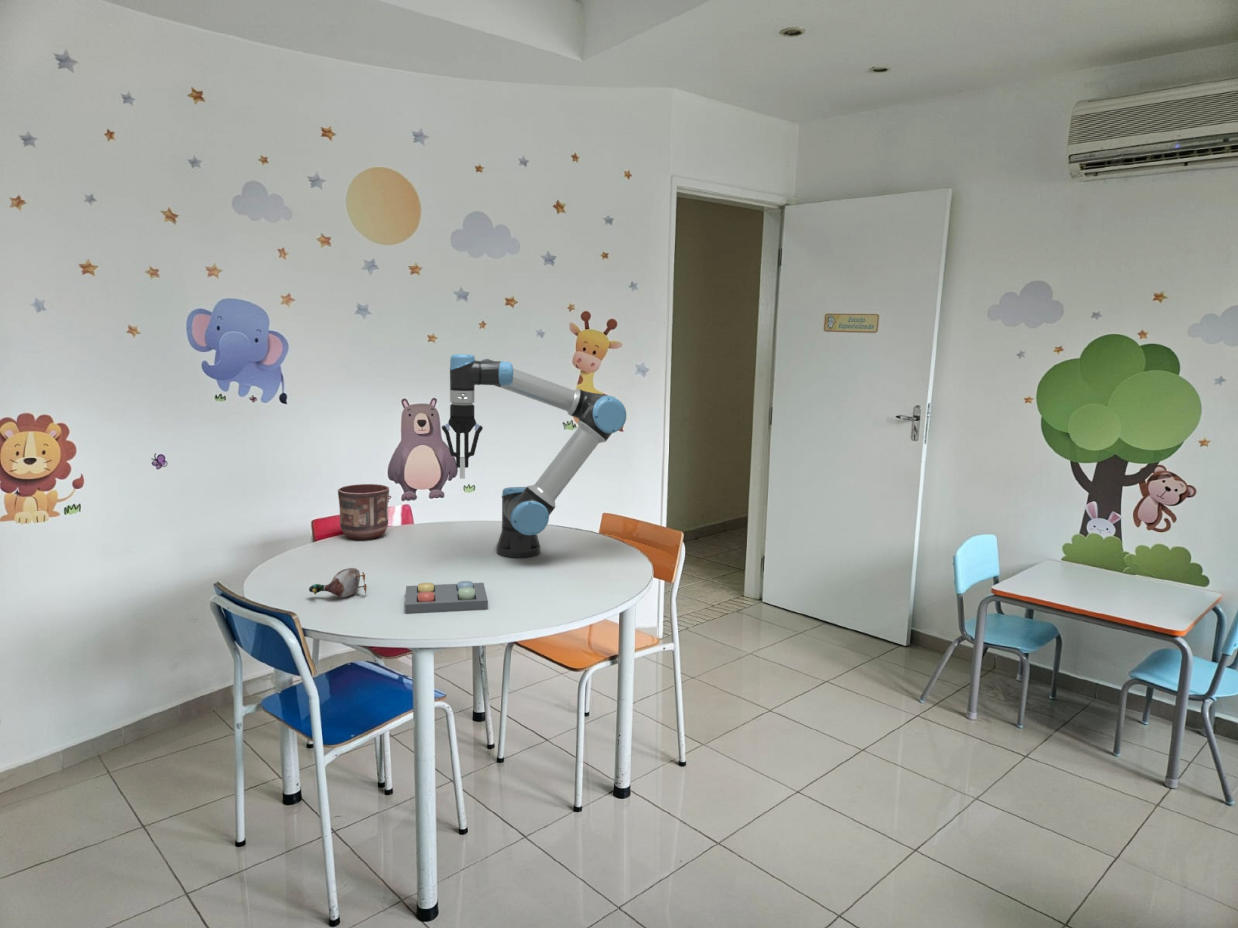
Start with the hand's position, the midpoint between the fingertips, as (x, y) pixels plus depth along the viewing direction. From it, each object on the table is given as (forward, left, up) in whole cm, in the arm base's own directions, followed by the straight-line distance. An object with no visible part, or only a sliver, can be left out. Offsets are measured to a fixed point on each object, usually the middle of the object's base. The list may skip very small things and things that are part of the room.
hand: (462, 477), depth 249 cm
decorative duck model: (+35, +22, -30) cm, 51 cm away
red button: (+12, +37, -29) cm, 48 cm away
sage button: (+1, +37, -28) cm, 46 cm away
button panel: (+6, +33, -29) cm, 45 cm away
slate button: (0, +29, -29) cm, 41 cm away
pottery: (+33, -43, -30) cm, 62 cm away
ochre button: (+12, +29, -29) cm, 43 cm away
